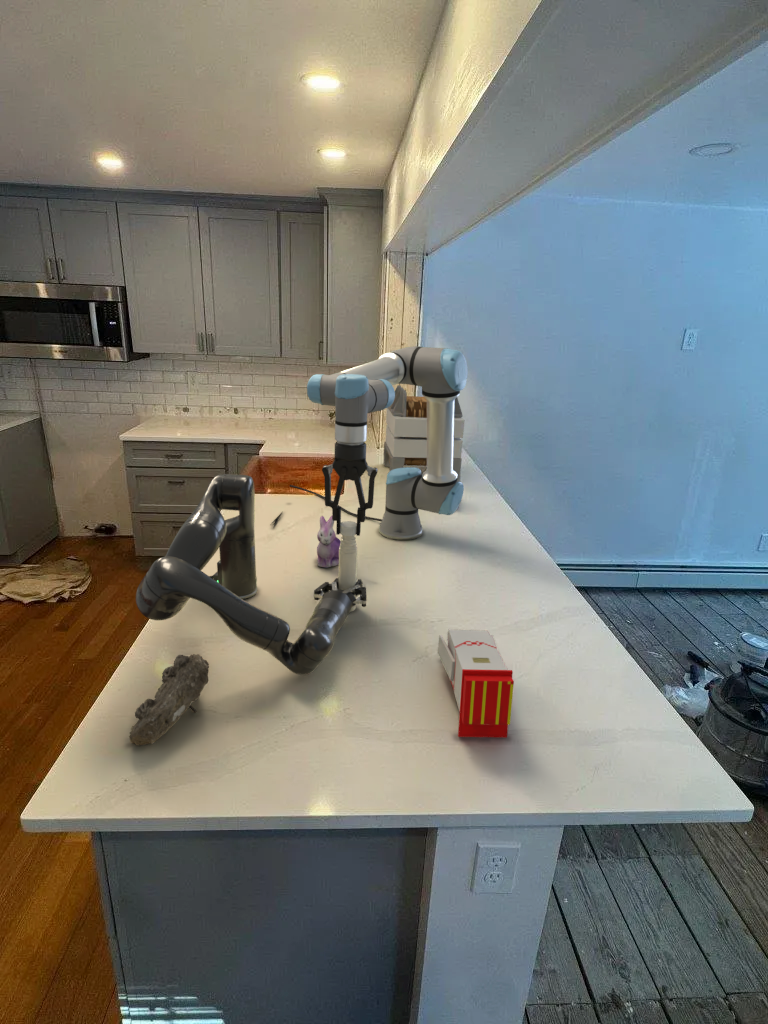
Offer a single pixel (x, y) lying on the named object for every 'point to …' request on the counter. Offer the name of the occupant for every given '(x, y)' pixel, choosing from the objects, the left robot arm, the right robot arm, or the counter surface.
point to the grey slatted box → (415, 432)
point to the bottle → (347, 563)
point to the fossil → (170, 698)
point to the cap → (348, 528)
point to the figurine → (327, 544)
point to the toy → (478, 682)
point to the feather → (276, 520)
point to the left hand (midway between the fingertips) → (350, 581)
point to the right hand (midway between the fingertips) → (348, 532)
